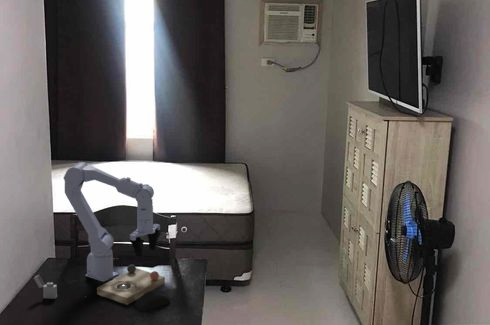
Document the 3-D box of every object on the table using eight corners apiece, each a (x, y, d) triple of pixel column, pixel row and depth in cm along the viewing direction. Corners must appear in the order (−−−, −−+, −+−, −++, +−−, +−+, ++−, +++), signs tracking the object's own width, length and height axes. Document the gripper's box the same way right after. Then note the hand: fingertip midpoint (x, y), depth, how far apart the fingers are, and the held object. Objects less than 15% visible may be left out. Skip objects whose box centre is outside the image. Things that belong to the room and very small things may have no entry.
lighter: (57, 296, 182) (56, 274, 180) (55, 298, 180) (54, 277, 178) (36, 295, 182) (35, 274, 180) (34, 298, 180) (33, 276, 178)
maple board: (97, 294, 184) (96, 287, 183) (135, 274, 201) (135, 268, 200) (127, 304, 177) (127, 298, 176) (164, 283, 194) (164, 276, 193)
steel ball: (118, 294, 185) (115, 287, 183) (124, 288, 187) (121, 281, 186) (124, 296, 184) (122, 290, 182) (130, 290, 186) (128, 284, 184)
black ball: (125, 273, 195) (125, 265, 195) (131, 270, 198) (131, 262, 197) (131, 275, 194) (131, 267, 193) (137, 272, 197) (137, 264, 196)
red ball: (148, 280, 190) (148, 272, 189) (153, 277, 193) (153, 269, 192) (155, 282, 189) (155, 274, 188) (160, 279, 191) (160, 271, 191)
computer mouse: (171, 303, 180) (171, 292, 179) (142, 313, 173) (142, 302, 172) (161, 296, 184) (161, 285, 184) (133, 305, 177) (133, 295, 176)
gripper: (140, 225, 185) (140, 261, 188) (166, 215, 197) (166, 248, 200) (125, 221, 189) (126, 257, 191) (151, 211, 201) (152, 245, 204)
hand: (145, 252), depth 196 cm, fingers open, 7 cm apart
